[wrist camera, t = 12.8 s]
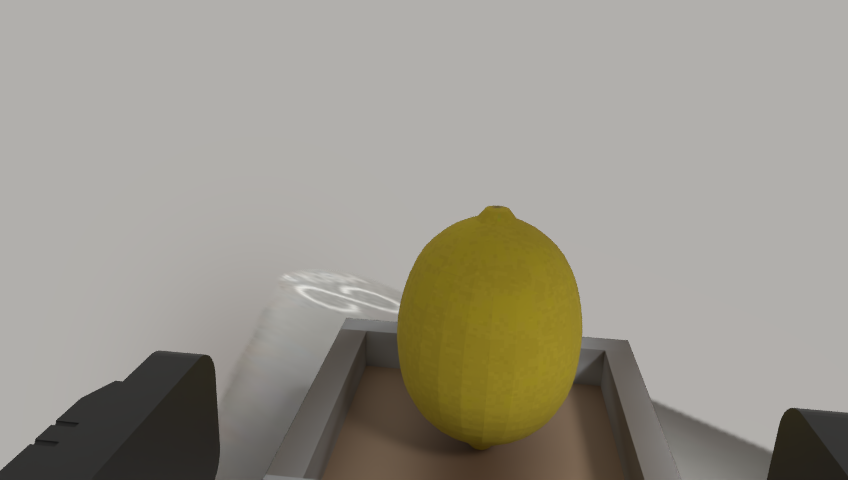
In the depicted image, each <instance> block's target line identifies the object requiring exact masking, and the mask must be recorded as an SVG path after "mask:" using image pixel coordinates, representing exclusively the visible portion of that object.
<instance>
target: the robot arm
mask: <svg viewBox="0 0 848 480" xmlns="http://www.w3.org/2000/svg"><path fill="white" fill-rule="evenodd" d="M219 456H220V442H219V426H218V409H217V393H216V377H215V367H214V363H213V361H212V359H211V357H210V356H208V355H202V354H191V353H179V352H168V351H156V352H154V353H152V354H151V355H150V356H149V357H148V358H147V359H146V360H145V361H144V362H143V363H142V364H141V365H140V366H139V367H138V368H137V369H136V370H134V371H133V372H132V373H131V374H130V375H129V376H128V377H127V378H126V379H125V380H124V381H123V382H122V381H114V382H112V383H110V384H108V385H106V386H104V387H102V388H100V389H98V390H96V391H94V392H92V393H90V394H89V395H86V396H84V397H82V398H81V399H80V400H78V401H77V402H76V403H75V404H74V405H73V406H72V407H71V408H70V409H68V410H67V411H66V412H65V413H64V414H63V415H62V416H61V417H60V418H58V419H57V420H56V424H55V425H51V426H50V427H48V428H47V429H46V430H45V431H44V432H43V433H42V434H41V435H40V436H38V437H37V438H36V439H35V444H34V445H32V444H30V445H29V446H27V447H26V448H25V449H24V450H23V451H22V452H21V453H20V454H19V455H17V456H16V457H15V458H14V459H13V460H12V461H11V462H10V463H8V464H7V465H6V466H5V467H4V468H3V469H2V470H1V471H0V480H215V477H216V473H217V469H218V464H219ZM767 480H848V413H843V412H832V411H821V410H809V409H798V408H790V409H788V410H787V411H786V412H785V413H784V415H783V416H782V418H781V421H780V425H779V428H778V433H777V437H776V442H775V446H774V451H773V455H772V460H771V464H770V468H769V473H768V477H767Z"/></svg>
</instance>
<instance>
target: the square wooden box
mask: <svg viewBox="0 0 848 480" xmlns="http://www.w3.org/2000/svg"><path fill="white" fill-rule="evenodd" d="M397 324H398V322H390V321H378V320H365V319H352V318H346V320H345V322H344V324H343V326H342V328H341V330H340V331H339V333H338V335H337V337H336V339H335V341H334V343H333V345H332V347H331V349H330V351H329V353H328V355H327V357H326V359H325V360H324V362H323V364H322V366H321V368H320V370H319V372H318V374H317V376H316V378H315V380H314V382H313V384H312V386H311V388H310V389H309V391H308V393H307V395H306V397H305V399H304V401H303V403H302V405H301V407H300V409H299V411H298V413H297V415H296V417H295V418H294V420H293V422H292V424H291V426H290V428H289V430H288V432H287V434H286V436H285V438H284V440H283V442H282V444H281V446H280V447H279V449H278V451H277V453H276V455H275V457H274V459H273V461H272V463H271V465H270V467H269V469H268V471H267V473H266V474H265V476H264V478H263V480H681V477H680V475H679V472H678V470H677V467H676V464H675V462H674V459H673V457H672V454H671V451H670V449H669V446H668V444H667V441H666V438H665V436H664V433H663V431H662V428H661V425H660V423H659V420H658V417H657V415H656V412H655V410H654V407H653V404H652V402H651V399H650V397H649V394H648V391H647V389H646V386H645V384H644V381H643V378H642V376H641V373H640V371H639V368H638V365H637V363H636V360H635V358H634V355H633V352H632V350H631V347H630V345H629V342H628V340H615V339H602V338H590V337H582V343H581V350H580V356H579V362H578V367H577V371H576V375H575V378H574V381H573V384H572V387H571V389H570V391H569V393H568V396H567V398H566V399H565V401H564V402H563V404H562V405H561V407H560V408H559V409H558V411H557V412H556V413H555V415H554V416H553V417H552V418H551V419H550V420H549V422H548V423H546V424H545V425H544V426H543V427H542V428H540V429H539V430H537V431H536V432H534V433H532V434H531V435H529V436H527V437H525V438H524V439H521V440H518V441H515V442H512V443H508V444H502V445H495V446H491V447H489V448H488V449H485V450H478V449H475V448H473V447H472V446H471V445H469V444H468V443H466V442H463V441H460V440H457V439H454V438H452V437H450V436H448V435H447V434H445V433H443V432H441V431H440V430H439V429H437V428H436V427H435V426H434V425H433V424H431V423H430V422H429V421H428V420H427V419H426V418H425V417H424V416H423V415H422V414H421V412H420V411H419V410H418V408H417V406H416V405H415V403H414V402H413V400H412V398H411V397H410V395H409V393H408V391H407V389H406V386H405V384H404V381H403V377H402V373H401V368H400V362H399V355H398V345H397Z"/></svg>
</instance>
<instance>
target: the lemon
mask: <svg viewBox="0 0 848 480" xmlns="http://www.w3.org/2000/svg"><path fill="white" fill-rule="evenodd" d="M581 343H582V313H581V304H580V297H579V292H578V287H577V284H576V280H575V277H574V275H573V272H572V270H571V268H570V266H569V264H568V262H567V260H566V258H565V256H564V254H563V253H562V252H561V251H560V249H559V248H558V247H557V245H556V244H555V243H554V242H553V241H552V240H551V239H550V238H548V237H547V236H546V235H545V234H543V233H542V232H541V231H540V230H538V229H537V228H535V227H534V226H532V225H530V224H528V223H526V222H524V221H522V220H519V219H516V217H515V216H514V214H513V213H512V212H511V210H510V209H509V208H507V207H503V206H488V207H486V208H485V209H484V210H483V211H482V212H481V213H480V214H479V215H478V216H475V217H471V218H468V219H465V220H462V221H460V222H457V223H455V224H453V225H451V226H450V227H448V228H446V229H445V230H443V231H442V232H441V233H439V234H438V235H437V236H436V237H434V238H433V239H432V240H431V241H430V242H429V243H428V244H427V245H426V246H425V247H424V249H423V250H422V252H421V253H420V254H419V256H418V258H417V260H416V262H415V264H414V266H413V268H412V270H411V272H410V274H409V277H408V280H407V282H406V285H405V288H404V292H403V295H402V299H401V304H400V309H399V315H398V324H397V345H398V355H399V362H400V368H401V373H402V377H403V381H404V384H405V386H406V389H407V391H408V393H409V395H410V397H411V398H412V400H413V402H414V403H415V405H416V406H417V408H418V410H419V411H420V412H421V414H422V415H423V416H424V417H425V418H426V419H427V420H428V421H429V422H430V423H431V424H433V425H434V426H435V427H436V428H437V429H439V430H440V431H441V432H443V433H445V434H447V435H448V436H450V437H452V438H454V439H457V440H460V441H463V442H466V443H468V444H469V445H471V446H472V447H473V448H475V449H478V450H485V449H488V448H489V447H491V446H495V445H502V444H508V443H512V442H515V441H518V440H521V439H524V438H525V437H527V436H529V435H531V434H532V433H534V432H536V431H537V430H539V429H540V428H542V427H543V426H544V425H545V424H546V423H548V422H549V420H550V419H551V418H552V417H553V416H554V415H555V413H556V412H557V411H558V409H559V408H560V407H561V405H562V404H563V402H564V401H565V399H566V398H567V396H568V393H569V391H570V389H571V387H572V384H573V381H574V378H575V375H576V371H577V367H578V362H579V356H580V350H581Z"/></svg>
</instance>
